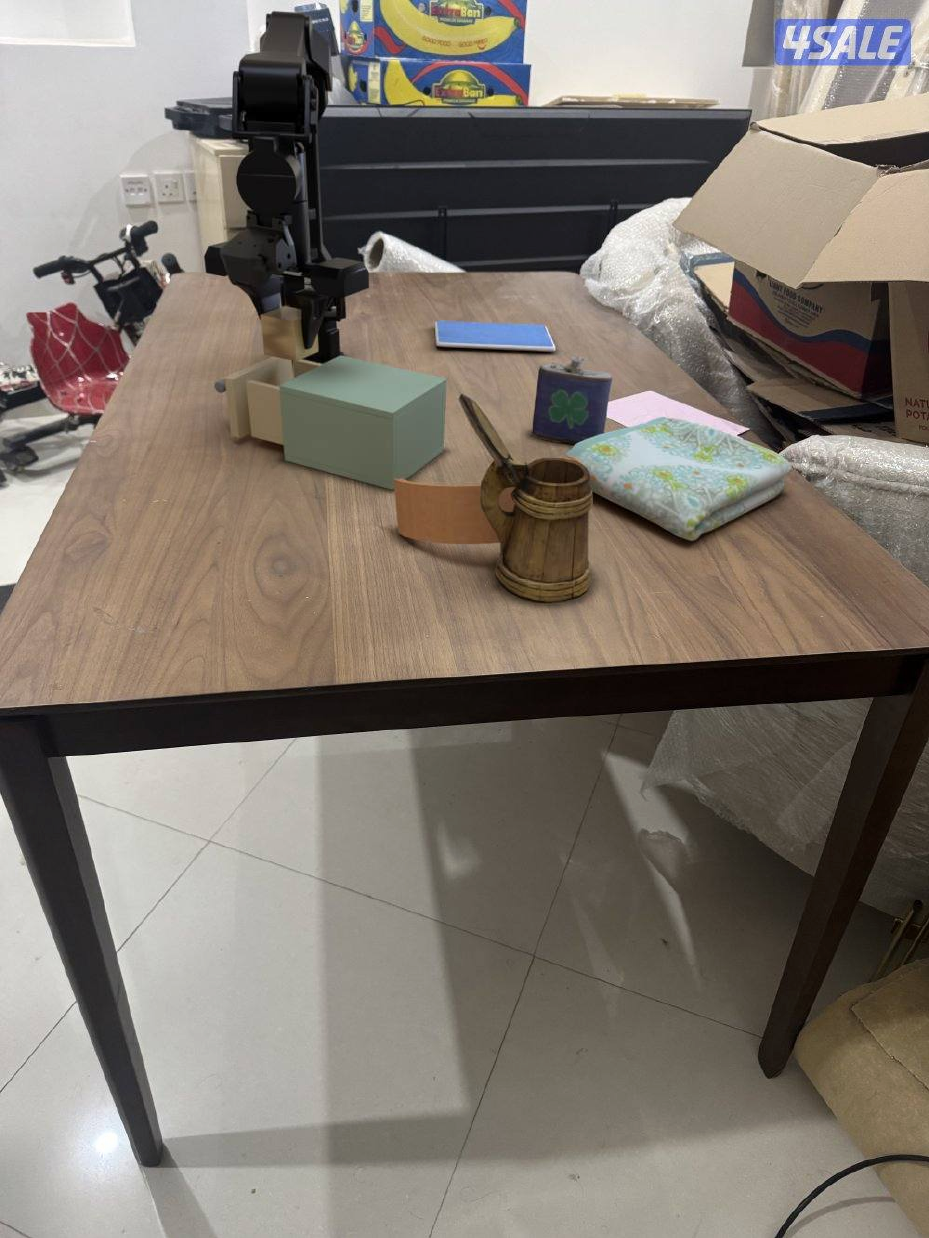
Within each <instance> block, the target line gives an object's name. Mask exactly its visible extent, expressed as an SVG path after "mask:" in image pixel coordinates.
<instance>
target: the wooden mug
mask: <svg viewBox="0 0 929 1238" xmlns="http://www.w3.org/2000/svg"><path fill="white" fill-rule="evenodd" d="M458 403H459V404H460V406H461V409H462V410H463V413H464V414H465V416H466V418H467V420H468V422H469V424H470V426H471V427H472V429H473V431H474V433H475V434H476V436H477V437H478V439H479V440H480V442H481V443H482V445H483V446H484V448H485V449H486V451H487V452H488V453H489V455H490V457H491V458H492V460H493V461H492V462H491V464H490V465H489V466H488V468H487V469H486V471H485V473H484V475H483V478H482V480H481V483H480V485H481V489H480V501H481V507H482V509H483V512H484V514H485V516H486V518H487V520H488V521H489V523H490V524H491V526H492V528H493V529H494V531H495V532H496V534H497V537H498V539H499V541H500V543H499V546H500V547H499V548H500V549H499V550H500V553H499V556H498V558H497V560H496V565H495V567H494V570H495V571H494V572H495V575H496V577H497V578H498V580H499V581H500V582H501V583H502V585H503V586H504V587H505V588H506V589H507V590H508V591H510V592H511V593H513V594H514V595H516V596H518V597H520V598H524V599H528V600H533V601H538V602H546V603H549V602H550V603H552V602H554V603H556V602H561V601H566V600H571V599H573V598H576V597H579V596H580V595H582V594H583V593H585V592H586V591H588V589H589V587H590V586H591V578H592V577H591V575H592V574H591V562H590V560H589V517H590V510H591V509H592V507H593V505H594V499H593V497H594V496H593V491H592V487H591V486H590V473H589V471H588V469H587V468H586V467H585V466H584V465H583V464H581V463H579V462H577V461H573V460H569V459H564V458H562V457H542V458H538V459H535V460H533V461H531V462H530V463H528V462H526V461H521V460H514V459H513V458H512V457H513V456H511V454H510V452H509V450H508V448H507V447H506V446H505V444H504V442H503V440H502V438H501V437H500V435H499V433H498V432H497V430H496V429H495V427H494V426H493V424H492V423H491V421H490V420H489V418H488V417H487V415H486V414H485V412H484V411H483V410H482V409H481V408H480V406H479V405H478V403H477V402H476V401H475V400H474V399H473V398H470V397H469V396H467V395H465V394H464V393H460V395H459V397H458ZM510 487H515V488H514V489H513V491H512V492H511V495H510V496H511V498H512V500H513V502H514V503H515V505H514V508H513V511H512V512H506V511H504V510H502V509H501V507H500V505H499V503H498V502H499V496H500V494H501V493H502V491H503V490H504V489H506V488H510Z"/></svg>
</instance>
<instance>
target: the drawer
mask: <svg viewBox="0 0 929 1238" xmlns="http://www.w3.org/2000/svg"><path fill="white" fill-rule="evenodd" d="M320 365H322V364H320V363H315V362H311V361H307V360H302V359H301V360H299V361H291V360H287V359H282V358H278V357H273V356H269V357H268V358H266V359H263V360H261V361H259V362H256V363H254V364H252V365H250V366H247V367H245V368H243V369H241V370H238V371H236V372H234V373H231V374H229V375H227V376H224V378H222V379H220V380H218V381H216V382H215V383H214V389H215V391H216V392H217V393H219V394H223V393H224V392H226V401H227V409H228V418H229V427H230V436H231V437H233V438H236V439H241V438H243V437H245V436H246V435H248V434H250V435H251V437H252V438H256V439H258V440H259V439H260V440H263V441H267V442H269V443H275V444H278V445H282V446H284V442H283V429H282V416H281V403H280V389H279V385H281V384H283V383H285V382H287V381H289V380H291V379H293V378H296V377H298V376H300V375H302V374H304V373H306V372H308V371H310V370H312V369H314V368H316V367H318V366H320Z"/></svg>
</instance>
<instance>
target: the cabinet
mask: <svg viewBox="0 0 929 1238" xmlns="http://www.w3.org/2000/svg"><path fill="white" fill-rule="evenodd" d="M279 389H280V403H281V416H282V429H283V442H284V445H283V451H284V452H283V454H284V461H286V462H288V463H289V462H290V463H294V464H297V465H300V466H305V467H307V468H308V467H309V468H311V469H314V470H318V471H322V472H326V473H329V474H333V475H336V476H340V477H343V478H347V479H351V480H355V481H357V482H362V483H366V484H369V485H373V486H376V487H380V488H383V489H387V490H391V491H394V490H395V489H394V479H398V480H399V479H400V478H402V479H404V480H407V479H409V478H410V477H412V476H413V475H414V474H416V473H417V472H418V471H419V470H421V469H422V468H424V466H426V465H427V464H428V463H430V462H432V460H434V459H435V458H436V457H438V456H439V455H440V454H441V453H443V452H444V450H445V433H446V432H445V431H446V430H445V427H446V405H447V403H446V401H447V378H445V377H441V376H437V375H432V374H428V373H423V372H418V371H414V370H409V369H406V368H405V369H404V368H400V367H396V366H391V365H387V364H383V363H379V362H378V363H377V362H373V361H368V360H364V359H359V358H356V357H351V356H346V355H344V356H342V355H341V356H339V357H337V358H334V359H332V360H330V361H328V362H326V363H324V364H322V365H320V366H318V367H316V368H314V369H312V370H310V371H308V372H306V373H304V374H302V375H300V376H298V377H296V378H294V377H293V379H291V380H289V381H287V382H285V383H283V384H281V385H279Z"/></svg>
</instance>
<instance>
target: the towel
mask: <svg viewBox="0 0 929 1238" xmlns="http://www.w3.org/2000/svg"><path fill="white" fill-rule="evenodd" d="M567 456H571V457H574V458H576V459H578V460H579V461H580V462H581V464H583V465H584V466H585V467H586V468H587V469H588V471H589V473H590V486H591V487H592V493H594V494H596V495H598V496H600V497H602V498H603V499H606V500H608V501H609V502H612V503H614V504H616V505H618V506H619V507H621V508H623V509H626V510H629V511H630V512H632V513H634V514H636V515H638V516H640V517H642V518H644V519H646V520H648V521H649V522H652V523H653V524H655V525H657V526H659V527H660V528H662V529H664V530H666V531H668V532H670V533H671V534H673V535H674V536H676V537H679V538H681V539H684V540H687V541H689V542H693V541H696V540H697V539H698V538H699V537H700V536H701V535H702V534H706V533H708V532H711V531H713V530H715V529H717V528H719V527H721V526H724V525H725V524H726V523H728V522H731V521H733V520H735V519H737V518H739V517H741V516H742V515H744V514H746V513H748V512H749V511H752V510H754V509H756V508H758V507H760V506H762V505H763V504H766V503H767V502H770V501H771V500H772V499H774V498H776V497H777V496H778V495H780V494H781V492H782V491H783V490H784V488H785V486H786V482H784V480H783V478H785V477H787V476H789V474H790V473H791V472H792V471H793V467H792V465H791V463H790V462H789V461H788V460H787V459H786V458H785V457H783V456H782V455H780V454H779V453H777V452H775V451H773V450H772V449H771V450H770V449H769V448H766V447H764V446H762V445H759V444H757V443H754V442H751V441H748V440H746V439H743V438H741V437H737V436H736V435H733V434H731V433H728V432H726V431H723V430H720V429H717V428H715V427H712V426H708V425H705V424H702V423H699V422H698V423H697V422H693V421H689V420H686V419H683V418H675V417H667V416H659V417H656V418H653V419H651V420H649V421H647V422H644V423H639V424H636V425H633V426H628V427H624V428H619V429H615V430H611V431H608V432H604V433H603V434H600V435H597V436H594V437H591V438H588V439H586V440H583V441H581V442H579V443H577V444H574V445H573V447H572V448H571V449H570V450H568V451H566V453H565V455H564V457H565V458H567Z"/></svg>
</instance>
